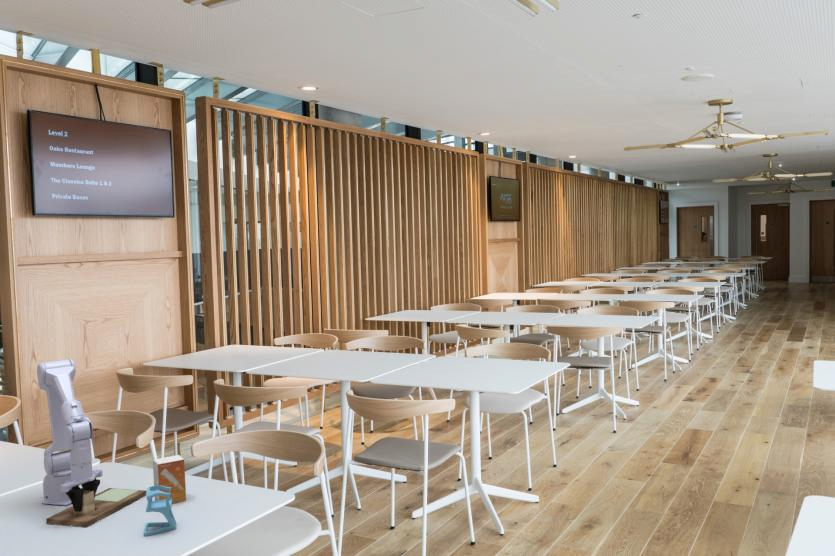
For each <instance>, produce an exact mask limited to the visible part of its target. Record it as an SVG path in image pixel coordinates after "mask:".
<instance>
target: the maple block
mask: <svg viewBox="0 0 835 556" xmlns="http://www.w3.org/2000/svg"><path fill="white" fill-rule="evenodd" d="M82 503H83V507H82V511H81V512H77V511H75V510H74V508H73V512H74V515H87V514H89V513H91V512H93V511H95V505H94V491H87V490H84V494H83V500H82Z"/></svg>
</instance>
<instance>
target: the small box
mask: <svg viewBox="0 0 835 556" xmlns="http://www.w3.org/2000/svg"><path fill="white" fill-rule="evenodd" d="M152 469H153V471H152V472H153V486H155V485H162V486H166V487H171V490H170V493H171V494H170V499H172V504H177V503H180V502H186V501H187V492H186V491H187V490H186V489H187V488H186V470H185V469H186V468H185V459H184V458H183V457H182V456H181V455H180V454H175V455H171V456H166V457H161V458H160V457H159V458H156V459H152ZM157 490H159V491H163V492H165V493H167V492H168V491H167V490H164V489H157ZM165 499H167V497H165V496H160V495H159V496H155V497H154V501H158V500H165Z"/></svg>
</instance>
